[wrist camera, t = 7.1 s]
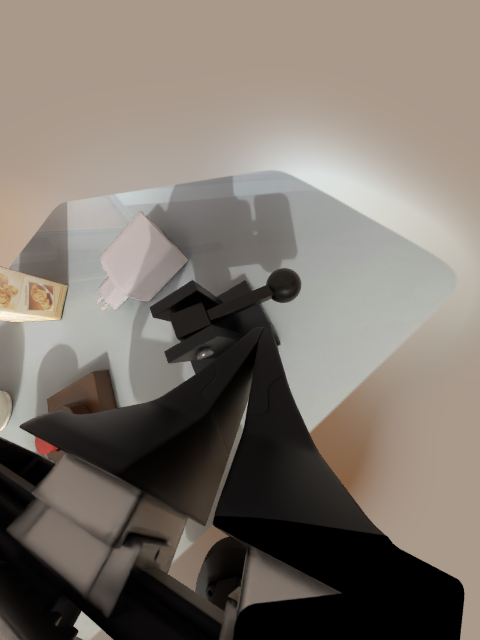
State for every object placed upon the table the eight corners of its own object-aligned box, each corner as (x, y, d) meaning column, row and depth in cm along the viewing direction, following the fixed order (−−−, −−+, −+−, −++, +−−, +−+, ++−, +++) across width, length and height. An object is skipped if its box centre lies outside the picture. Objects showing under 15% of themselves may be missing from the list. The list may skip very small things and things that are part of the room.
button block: (126, 451, 23) (95, 471, 20) (76, 475, 25) (38, 497, 21) (108, 369, 27) (78, 373, 23) (64, 395, 28) (30, 402, 25)
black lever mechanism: (247, 283, 23) (218, 237, 13) (280, 344, 20) (273, 340, 11) (181, 323, 24) (114, 306, 15) (204, 383, 22) (141, 408, 13)
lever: (284, 276, 18) (294, 255, 15) (300, 300, 17) (314, 284, 14) (177, 320, 16) (164, 307, 13) (189, 350, 16) (177, 344, 12)
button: (74, 441, 22) (56, 448, 20) (55, 451, 22) (36, 459, 21) (70, 412, 23) (52, 417, 21) (51, 422, 23) (33, 428, 22)
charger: (103, 292, 30) (161, 229, 29) (126, 329, 27) (191, 262, 26) (71, 282, 26) (137, 207, 24) (94, 326, 23) (170, 244, 21)
